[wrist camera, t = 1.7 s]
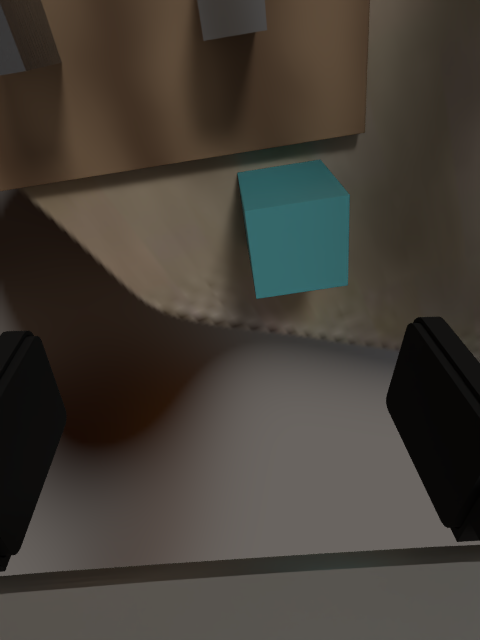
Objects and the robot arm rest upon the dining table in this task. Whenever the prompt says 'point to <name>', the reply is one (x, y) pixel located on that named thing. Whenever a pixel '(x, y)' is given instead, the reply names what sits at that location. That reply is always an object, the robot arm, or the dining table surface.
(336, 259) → the turquoise toy cube
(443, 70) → the dining table surface
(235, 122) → the flat wooden board
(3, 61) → the grey block
